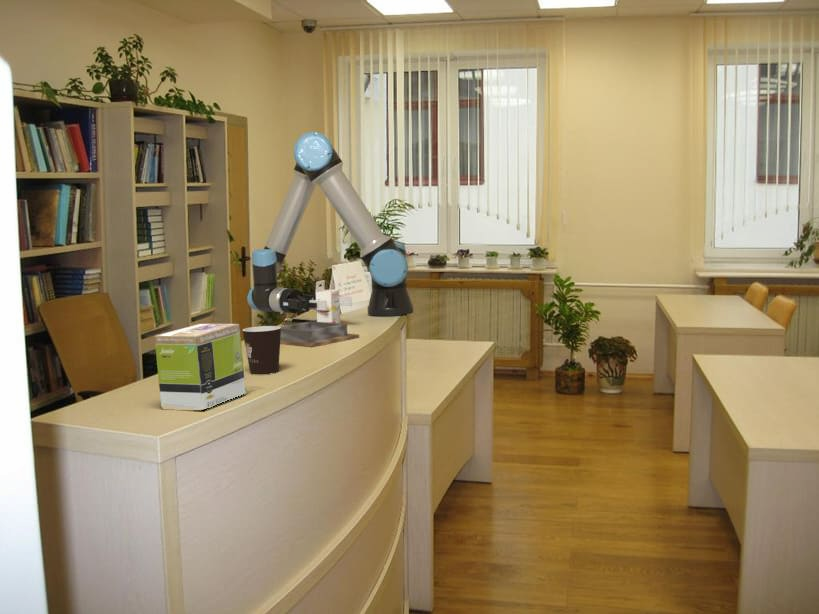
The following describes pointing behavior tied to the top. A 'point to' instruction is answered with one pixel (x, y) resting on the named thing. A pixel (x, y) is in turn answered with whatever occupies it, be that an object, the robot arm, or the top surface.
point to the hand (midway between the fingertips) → (338, 303)
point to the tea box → (200, 365)
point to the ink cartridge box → (328, 304)
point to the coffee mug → (263, 348)
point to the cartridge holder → (314, 334)
